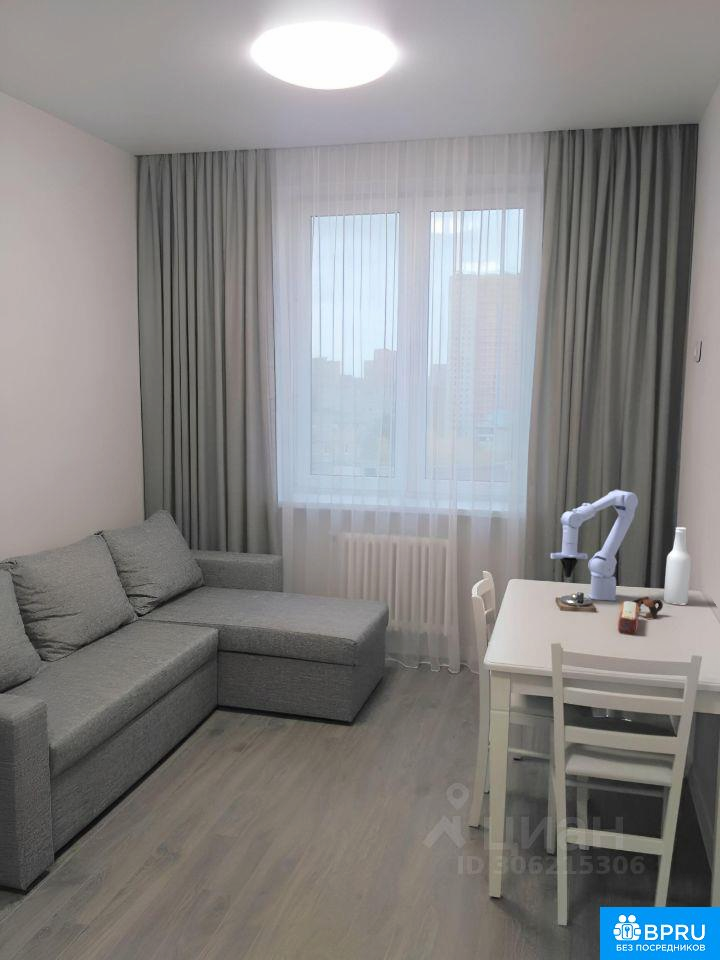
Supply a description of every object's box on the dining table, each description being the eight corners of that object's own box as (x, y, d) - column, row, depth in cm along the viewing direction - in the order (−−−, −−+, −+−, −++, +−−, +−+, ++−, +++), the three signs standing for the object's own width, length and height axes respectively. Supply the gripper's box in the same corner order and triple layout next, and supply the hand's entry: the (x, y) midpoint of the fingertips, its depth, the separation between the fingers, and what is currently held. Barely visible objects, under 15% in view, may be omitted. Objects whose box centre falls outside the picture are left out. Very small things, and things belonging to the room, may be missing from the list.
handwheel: (556, 598, 298) (557, 586, 298) (584, 598, 299) (585, 586, 298) (566, 606, 287) (567, 593, 286) (595, 606, 288) (596, 594, 287)
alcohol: (660, 599, 308) (666, 525, 305) (683, 600, 308) (689, 526, 304) (667, 605, 300) (673, 529, 296) (690, 606, 299) (696, 530, 296)
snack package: (637, 636, 259) (638, 616, 258) (616, 633, 261) (617, 614, 260) (638, 620, 278) (640, 601, 278) (619, 617, 281) (620, 599, 280)
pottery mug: (641, 621, 278) (632, 599, 280) (631, 626, 286) (622, 604, 289) (671, 612, 280) (662, 591, 282) (660, 617, 288) (651, 596, 291)
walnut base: (589, 603, 299) (589, 599, 299) (596, 612, 286) (596, 608, 286) (555, 601, 300) (555, 597, 300) (560, 610, 287) (560, 606, 287)
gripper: (556, 544, 295) (554, 579, 296) (592, 544, 297) (589, 579, 298) (549, 541, 302) (547, 574, 303) (584, 541, 304) (581, 574, 305)
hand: (567, 576), depth 301 cm, fingers closed
